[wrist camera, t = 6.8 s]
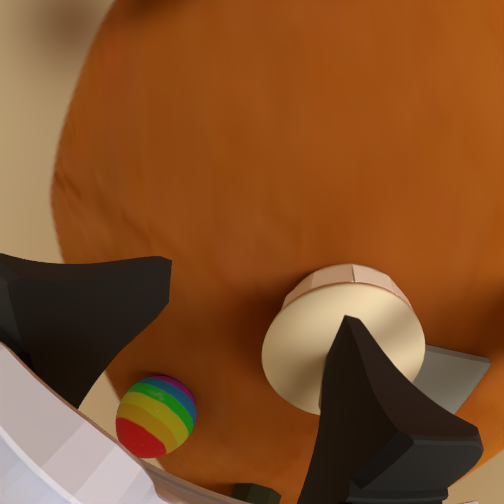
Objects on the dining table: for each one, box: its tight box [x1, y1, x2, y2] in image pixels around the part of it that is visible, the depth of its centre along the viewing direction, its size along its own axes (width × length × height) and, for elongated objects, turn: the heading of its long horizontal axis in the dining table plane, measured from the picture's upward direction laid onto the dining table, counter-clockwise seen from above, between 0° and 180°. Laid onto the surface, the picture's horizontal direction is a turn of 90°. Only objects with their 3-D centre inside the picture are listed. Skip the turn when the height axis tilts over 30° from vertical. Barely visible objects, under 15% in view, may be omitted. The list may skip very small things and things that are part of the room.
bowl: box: [281, 263, 413, 310], centre depth 19 cm, size 10×10×4 cm
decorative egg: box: [116, 376, 197, 458], centre depth 24 cm, size 8×8×10 cm
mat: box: [412, 344, 491, 415], centre depth 20 cm, size 12×12×1 cm
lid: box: [262, 282, 425, 415], centre depth 15 cm, size 11×11×4 cm
